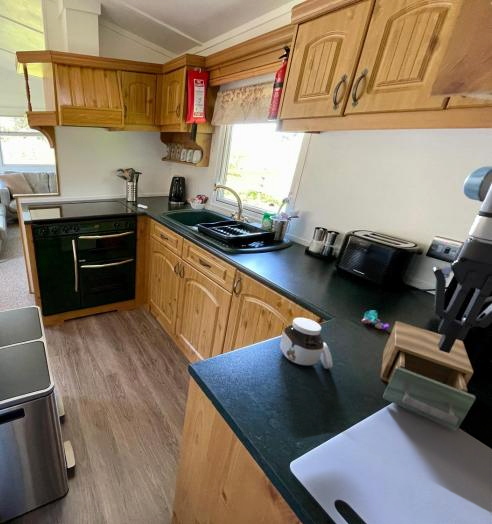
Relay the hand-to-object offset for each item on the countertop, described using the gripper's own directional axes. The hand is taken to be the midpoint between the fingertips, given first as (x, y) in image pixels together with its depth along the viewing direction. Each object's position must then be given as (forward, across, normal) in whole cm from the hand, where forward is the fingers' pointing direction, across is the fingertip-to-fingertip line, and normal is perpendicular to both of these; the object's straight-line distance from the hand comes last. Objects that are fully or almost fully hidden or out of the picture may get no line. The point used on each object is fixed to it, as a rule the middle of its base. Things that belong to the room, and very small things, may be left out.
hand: (443, 348), depth 61 cm
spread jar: (+18, -23, +2) cm, 29 cm away
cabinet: (+18, +1, +17) cm, 24 cm away
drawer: (+17, +1, +3) cm, 17 cm away
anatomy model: (+18, -10, +42) cm, 47 cm away
